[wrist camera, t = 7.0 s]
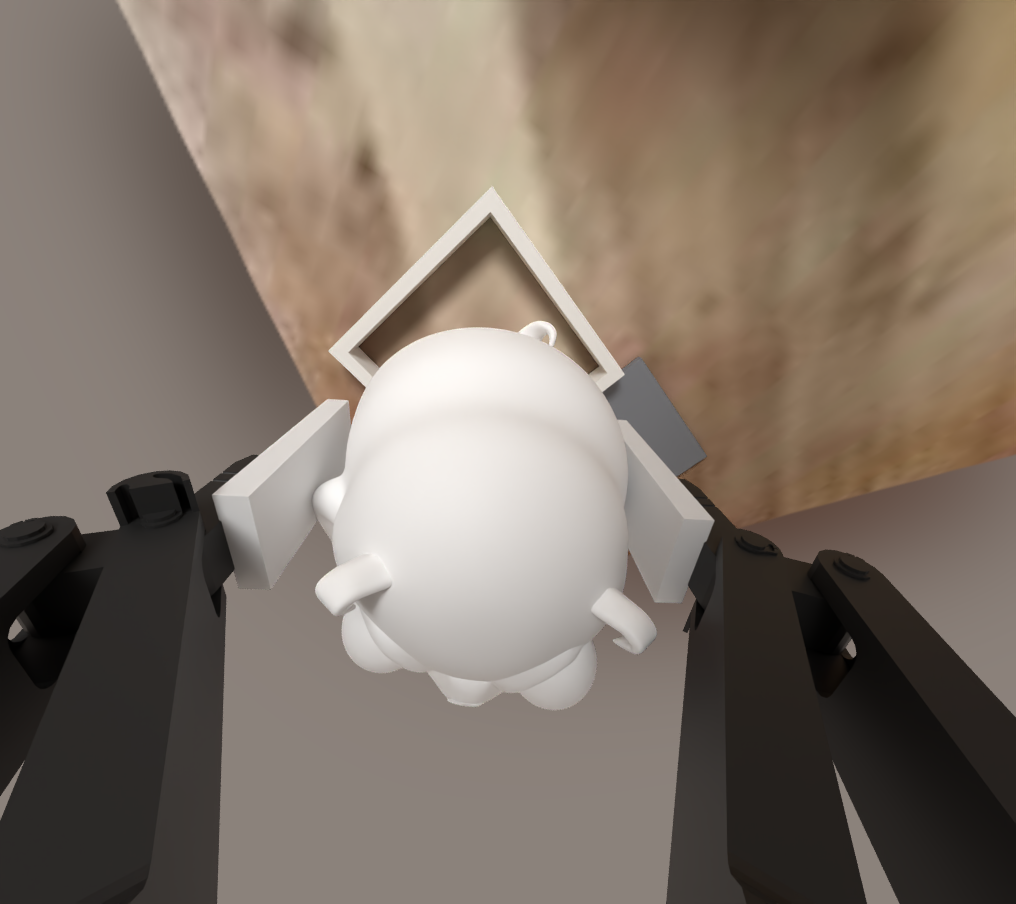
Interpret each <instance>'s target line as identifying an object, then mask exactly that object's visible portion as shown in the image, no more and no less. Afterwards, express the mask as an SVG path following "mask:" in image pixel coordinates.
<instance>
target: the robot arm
mask: <svg viewBox="0 0 1016 904" xmlns="http://www.w3.org/2000/svg"><path fill="white" fill-rule="evenodd" d="M617 421H618V423H619V426H620V429H621V432H622V435H623V439H624V443H625V447H626V453H627V461H628V486H627V494H626V500H625V504H624V510H625V515H626V520H627V527H628V549H629V551H630V553H631V555H632V557H633V559H634V561H635V563H636V565H637V567H638V569H639V571H640V573H641V575H642V578H643V580H644V582H645V584H646V586H647V588H648V590H649V592H650V594H651V596H652V598H653V600H654V602H657V603H682V601H683V599H684V596H685V594H686V591H687V589H688V586H689V588H690V589H691V591H692V592H693V594H694V596H695V597H696V601H695V603H694V605H693V608H692V610H691V612H690V615H689V617H688V620H687V622H686V625H685V627H684V629H683V631H684V632H686V633H687V632H688V630H689V628H690V631H689V643H688V654H687V667H686V678H685V689H684V701H683V713H682V725H681V736H680V748H679V761H678V771H677V783H676V796H675V808H674V819H673V831H672V843H671V854H670V866H669V877H668V889H667V901H666V904H867V902H866V898H865V894H864V889H863V885H862V881H861V877H860V873H859V869H858V864H857V860H856V856H855V852H854V848H853V844H852V840H851V835H850V832H849V828H848V823H847V819H846V815H845V811H844V806H843V802H842V798H841V794H840V790H839V786H838V781H837V777H836V773H835V769H834V765H833V762H834V764H835V766H836V769H837V771H838V773H839V775H840V777H841V779H842V781H843V783H844V786H845V788H846V790H847V792H848V794H849V796H850V799H851V801H852V803H853V805H854V807H855V809H856V811H857V814H858V816H859V818H860V820H861V822H862V824H863V826H864V828H865V831H866V833H867V835H868V837H869V839H870V841H871V844H872V846H873V848H874V850H875V852H876V854H877V856H878V858H879V861H880V863H881V865H882V867H883V869H884V871H885V873H886V875H887V878H888V880H889V882H890V884H891V886H892V888H893V891H894V893H895V895H896V897H897V899H898V901H899V903H900V904H1016V717H1015V716H1014V715H1013V714H1012V713H1011V712H1010V711H1009V710H1008V709H1007V708H1006V707H1005V706H1004V704H1003V703H1002V702H1001V701H1000V700H999V699H998V698H997V697H996V696H995V695H994V694H993V692H992V691H990V689H989V688H988V687H987V686H986V685H985V684H984V683H983V682H982V681H981V680H980V678H978V676H977V675H976V674H975V673H974V672H973V671H972V670H971V669H970V668H969V667H968V666H967V665H966V663H965V662H964V661H963V660H962V659H961V658H960V657H959V656H958V655H957V654H956V653H955V652H954V650H953V649H952V648H951V647H950V646H949V645H948V644H947V643H946V642H945V641H944V640H943V639H942V638H941V636H940V635H939V634H938V633H937V632H936V631H935V630H934V629H933V628H932V627H931V626H930V625H929V624H928V622H927V621H926V620H925V619H924V618H923V617H922V616H921V615H920V614H919V613H918V612H917V611H916V610H915V609H914V607H913V606H912V605H911V604H910V603H909V602H908V601H907V600H906V599H905V598H904V597H903V596H902V594H901V593H900V592H899V591H898V590H897V589H896V588H895V587H894V586H893V585H892V584H891V583H890V582H889V580H888V579H887V578H886V577H885V576H884V575H883V574H882V573H880V572H879V571H878V570H877V569H876V568H875V567H873V566H871V565H870V564H868V563H866V562H865V561H864V560H863V559H861V558H859V557H855V556H854V555H851V554H848V553H842V552H839V551H835V550H823V551H820V552H819V553H818V555H817V557H816V558H815V560H814V562H813V564H809V563H806V562H801V561H797V560H793V559H789V558H785V557H783V554H782V553H781V551H780V549H779V548H778V547H777V546H776V545H775V544H774V543H772V542H771V541H769V540H768V539H766V538H764V537H763V536H761V535H759V534H756V533H753V532H751V531H747V530H743V529H737V528H736V527H735V526H734V525H733V524H732V523H731V522H730V521H729V520H728V519H727V518H726V516H725V515H724V514H723V513H722V512H721V511H720V510H719V509H718V508H717V507H715V505H714V504H713V503H712V502H711V500H710V499H708V497H707V496H706V495H705V494H704V493H703V492H702V491H701V490H700V489H699V488H698V487H696V486H695V485H693V484H692V483H690V482H688V481H687V480H685V479H678V478H677V477H676V476H675V475H674V474H673V473H672V472H671V470H670V469H669V468H668V467H667V466H666V465H665V464H664V462H663V461H662V460H661V459H660V458H659V457H658V456H657V454H656V453H655V452H654V451H653V450H652V449H651V448H650V446H649V445H648V444H647V443H646V442H645V441H644V440H643V439H642V437H641V436H640V435H639V434H638V433H637V432H636V431H635V429H634V428H633V427H632V426H631V425H630V424H629V423H628V421H627V420H617ZM350 429H351V421H350V411H349V401H348V400H334V399H327V400H326V401H325V402H323V403H322V404H321V405H320V406H318V407H317V408H316V409H315V410H314V411H312V412H311V413H310V414H309V415H308V416H306V417H305V418H304V419H303V420H302V421H300V422H299V423H298V424H297V425H296V426H294V427H293V428H292V429H291V430H290V431H288V432H287V433H286V434H285V435H283V436H282V437H281V438H280V439H279V440H277V441H276V442H275V443H274V444H273V445H271V446H270V447H269V448H268V449H266V450H265V451H264V452H263V453H262V454H260V455H251V456H249V457H246V458H244V459H242V460H240V461H237V462H235V463H234V464H232V465H231V466H230V467H228V468H227V469H226V470H225V471H223V473H222V474H219V475H218V476H217V477H216V478H214V479H213V481H210V482H209V483H208V484H207V485H205V486H204V487H203V488H201V489H200V490H199V491H197V492H196V493H195V494H194V491H193V488H192V485H191V482H190V479H189V476H188V474H185V473H183V472H180V471H156V472H151V473H145V474H141V475H137V476H134V477H131V478H128V479H125V480H123V481H121V482H119V483H117V484H116V485H114V486H112V487H111V488H110V489H109V490H108V491H107V492H106V494H107V496H108V498H109V501H110V503H111V505H112V508H113V510H114V512H115V515H116V517H117V519H118V522H119V524H120V528H119V530H113V531H104V532H96V533H89V534H81V533H80V531H79V529H78V527H77V525H76V523H75V521H74V519H72V518H69V517H66V516H50V517H43V518H32V519H28V520H25V521H24V522H23V521H20V522H17V523H14V524H12V525H10V526H9V527H6V528H4V529H1V530H0V796H1V794H2V793H3V791H4V790H5V789H6V787H7V786H8V784H9V783H10V781H11V779H12V778H13V777H14V775H15V774H16V772H17V771H18V769H19V768H20V766H21V765H22V763H23V762H24V764H23V766H22V769H21V771H20V774H19V776H18V779H17V781H16V783H15V786H14V788H13V791H12V793H11V796H10V798H9V801H8V803H7V806H6V808H5V810H4V813H3V815H2V818H1V820H0V904H217V885H218V884H217V883H218V853H219V819H220V787H221V784H220V783H221V753H222V721H223V688H224V655H225V624H226V594H225V591H224V587H223V583H224V582H225V580H226V579H227V578H228V577H229V575H230V574H231V573H232V572H233V571H234V573H235V577H236V581H237V584H238V588H239V589H265V590H271V589H272V587H273V586H274V584H275V583H276V581H277V580H278V578H279V577H280V575H281V574H282V572H283V571H284V569H285V568H286V567H287V565H288V564H289V562H290V560H291V559H292V558H293V556H294V555H295V553H296V551H297V550H298V549H299V547H300V546H301V544H302V543H303V541H304V540H305V538H306V537H307V535H308V534H309V532H310V531H311V529H312V528H313V526H314V525H315V523H316V522H317V521H318V519H317V517H316V515H315V512H314V509H313V505H312V497H313V494H314V492H315V490H316V489H317V488H318V487H319V486H320V485H322V484H323V483H325V482H326V481H328V480H331V479H333V478H336V477H339V476H341V475H342V474H343V472H344V469H345V461H346V450H347V443H348V437H349V433H350ZM15 619H17V620H18V622H19V623H20V625H21V626H22V628H23V629H22V630H21V631H20V632H19V633H18V635H17V636H16V637H15V638H14V639H12V640H9V639H8V634H9V629H10V627H11V625H12V624H13V622H14V621H15ZM851 639H853V642H854V644H855V647H856V652H857V653H856V656H855V657H854V658H852V657H851V655H850V654H849V652H848V651H847V649H846V648H845V647H846V646H847V645H848V643H849V642H850V640H851ZM24 760H25V761H24ZM832 760H833V761H832Z"/></svg>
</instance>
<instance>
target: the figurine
mask: <svg viewBox="0 0 1016 904" xmlns="http://www.w3.org/2000/svg"><path fill="white" fill-rule="evenodd" d="M547 334H548V335H549V339H550V341H549V345H548V344H546V343H544V342H542V341H541V340H542V339H543V337H544V336H545V335H547ZM556 337H557V332H556V329H555V328H554V326H553V325H551V324H550V323H548V322H545V321H536V322H532V323H530V324H528V325H527V326H525V327H524V328H522V329H521V330H520V331H519V332H518V333H517V332H513V331H508V330H503V329H496V328H481V327H475V328H460V329H453V330H448V331H443V332H439V333H436V334H432V335H429V336H427V337H424V338H422V339H419V340H417V341H415V342H413V343H411V344H409V345H407V346H406V347H404V348H403V349H401V350H400V351H398V352H397V353H395V354H394V355H393V356H392V357H391V358H389V359H388V360H387V361H386V362H385V363H384V364H383V365H382V366H381V367H380V368H379V370H378V371H377V372H376V373H375V375H374V376H373V377H372V379H371V380H370V382H369V384H368V385H367V387H366V389H365V391H364V393H363V395H362V397H361V399H360V402H359V404H358V407H357V410H356V413H355V416H354V419H353V422H352V425H351V429H350V433H349V437H348V443H347V450H346V461H345V469H344V472H343V474H342V475H341V476H339V477H336V478H333V479H331V480H328V481H326V482H325V483H323V484H322V485H320V486H319V487H318V488H317V489H316V490H315V492H314V494H313V497H312V505H313V509H314V512H315V515H316V517H317V519H318V521H319V523H320V524H321V526H322V528H323V529H324V531H325V532H326V533H327V535H328V537H329V538H330V540H331V541H332V543H333V552H334V557H335V561H336V564H337V567H336V568H334V569H333V570H331V571H330V572H329V573H327V574H326V575H325V576H324V577H323V578H322V579H321V580H320V581H319V582H318V583H317V585H316V588H315V593H316V596H317V598H318V599H319V600H320V601H321V602H322V603H323V604H324V605H325V606H326V607H327V609H328V610H329V611H330V612H331V613H332V614H333V615H334V616H341V615H344V617H343V622H342V640H343V644H344V647H345V650H346V652H347V653H348V655H349V657H350V658H351V659H352V660H353V661H354V662H355V663H356V664H357V665H358V666H360V667H361V668H363V669H365V670H367V671H370V672H374V673H389V672H394V671H397V670H399V669H401V668H404V669H406V670H409V671H413V672H427V673H428V674H429V675H430V677H431V678H432V679H433V681H434V682H435V683H436V684H437V686H438V687H439V689H440V690H441V691H442V693H443V694H444V695H445V696H446V697H447V698H448V699H447V701H448V702H451V703H453V704H457V705H462V706H470V707H478V706H480V705H482V704H483V703H485V702H487V701H489V700H491V699H493V698H494V697H496V696H497V695H499V694H500V693H502V692H506V693H517V692H520V694H521V695H522V696H523V697H524V698H525V699H526V700H528V701H529V702H530V703H532V704H534V705H536V706H538V707H540V708H543V709H548V710H561V709H565V708H569V707H571V706H573V705H575V704H576V703H578V702H579V701H580V700H581V699H582V698H583V697H584V696H585V695H586V694H587V692H588V691H589V690H590V688H591V686H592V684H593V681H594V678H595V675H596V669H597V654H596V649H595V645H594V642H593V638H594V637H595V636H596V635H597V634H598V633H599V632H600V631H601V630H602V628H603V627H604V626H605V625H606V624H608V625H609V626H611V627H613V628H614V629H615V630H617V631H618V632H620V633H621V634H622V635H623V636H621V637H618V638H615V639H613V642H614V643H615V644H616V645H618V646H619V647H621V648H623V649H625V650H627V651H628V652H630V653H633V654H641V653H642V652H643V651H644V650H645V649H646V648H647V647H648V646H649V645H650V644H651V643H652V642H653V641H654V640H655V638H656V636H657V630H656V627H655V625H654V623H653V621H652V620H651V619H650V617H649V616H648V615H647V614H646V613H645V612H644V611H643V610H642V609H641V608H640V607H639V606H637V605H636V604H635V603H634V602H632V601H631V600H630V599H629V598H627V597H626V596H625V595H624V594H623V590H624V586H625V581H626V574H627V560H628V527H627V520H626V515H625V510H624V504H625V500H626V494H627V486H628V461H627V453H626V447H625V443H624V439H623V435H622V432H621V429H620V426H619V423H618V421H617V418H616V416H615V414H614V412H613V410H612V408H611V406H610V404H609V402H608V401H607V399H606V397H605V396H604V394H603V393H602V391H601V390H600V388H599V387H598V386H597V384H596V383H595V382H594V381H593V379H592V378H591V377H590V376H589V375H588V374H587V373H586V372H585V371H584V370H583V369H582V368H581V367H580V366H579V365H578V364H577V363H575V362H574V361H573V360H572V359H570V358H569V357H568V356H566V355H565V354H563V353H562V352H560V351H559V350H557V349H556V348H554V344H555V341H556Z"/></svg>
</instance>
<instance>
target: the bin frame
mask: <svg viewBox="0 0 1016 904" xmlns="http://www.w3.org/2000/svg"><path fill="white" fill-rule="evenodd" d="M490 217H491V218H492V220H493V221H494V223H495V224H496V225H497V227H498V228H499V229H500V231H501V232H502V234H503V235H504V236H505V238H506V239H507V240H508V242H509V243H510V245H511V246H512V247H513V249H514V250H515V251H516V253H517V254H518V255H519V257H520V258H521V260H522V261H523V262H524V264H525V265H526V266H527V268H528V269H529V271H530V272H531V273H532V275H533V276H534V277H535V279H536V280H537V282H538V283H539V284H540V286H541V287H542V288H543V290H544V291H545V293H546V294H547V295H548V297H549V298H550V299H551V301H552V302H553V303H554V305H555V306H556V308H557V309H558V310H559V312H560V313H561V314H562V316H563V317H564V319H565V320H566V321H567V323H568V324H569V325H570V327H571V328H572V330H573V331H574V332H575V334H576V335H577V336H578V338H579V339H580V341H581V342H582V343H583V345H584V346H585V347H586V349H587V350H588V351H589V353H590V354H591V356H592V357H593V358H594V360H595V361H596V362H597V364H598V365H599V367H597V368H596V369H595V370H594V371H592V372H591V373H590V374H588V375H589V376H590V377H591V378H592V379H593V381H594V382H595V383H596V384H597V386H598V387H599V388H600V390H601V391H602V392H603V391H604V390H606V389H607V388H608V387H610V386H611V385H612V384H613V383H615V382H616V381H617V380H619V379H620V378H621V377H623V376H624V375H625V374H624V372H623V371H622V370H621V368H620V367H619V365H618V364H617V362H616V361H615V360H614V358H613V357H612V355H611V354H610V353H609V351H608V350H607V348H606V347H605V345H604V344H603V343H602V341H601V340H600V338H599V337H598V336H597V334H596V333H595V331H594V330H593V328H592V327H591V326H590V324H589V323H588V321H587V320H586V319H585V317H584V316H583V314H582V313H581V311H580V310H579V309H578V307H577V306H576V304H575V303H574V301H573V300H572V299H571V297H570V296H569V294H568V293H567V292H566V290H565V289H564V287H563V286H562V284H561V283H560V282H559V280H558V279H557V277H556V276H555V275H554V273H553V272H552V270H551V269H550V267H549V266H548V265H547V263H546V262H545V260H544V259H543V258H542V256H541V255H540V253H539V252H538V250H537V249H536V248H535V246H534V245H533V243H532V242H531V240H530V239H529V238H528V236H527V235H526V233H525V232H524V231H523V229H522V228H521V226H520V225H519V223H518V222H517V221H516V219H515V218H514V216H513V215H512V214H511V212H510V211H509V209H508V208H507V206H506V205H505V204H504V202H503V201H502V199H501V198H500V197H499V195H498V194H497V192H496V191H495V189H494V188H493V187H491V188H490V189H489V190H488V191H487V192H486V193H485V194H484V195H483V196H482V197H481V198H480V199H479V200H478V201H477V202H476V203H475V204H474V205H473V206H472V207H471V208H470V209H469V210H468V211H467V212H466V213H465V214H464V215H463V216H462V217H461V218H460V219H459V220H458V221H457V222H456V223H455V224H454V225H453V226H452V227H451V228H450V229H449V230H448V231H447V232H446V233H445V234H444V235H443V236H442V237H441V238H440V239H439V240H438V241H437V242H436V243H435V244H434V245H433V246H432V247H431V248H430V249H429V250H428V251H427V252H426V253H425V254H424V255H423V256H422V257H421V258H420V259H419V260H418V261H417V262H416V263H415V264H414V265H413V266H412V267H411V268H410V269H409V270H408V271H407V272H406V273H405V274H404V275H403V276H402V277H401V278H400V279H399V280H398V281H397V282H396V283H395V284H394V285H393V286H392V287H391V288H390V289H389V290H388V291H387V292H386V293H385V294H384V295H383V296H382V297H381V298H380V299H379V300H378V301H377V302H376V303H375V304H374V305H373V306H372V307H371V308H370V309H369V310H368V311H367V312H366V313H365V314H364V315H363V316H362V318H361V319H360V320H359V321H358V322H357V323H356V324H355V325H354V326H353V327H352V328H351V329H350V330H349V331H348V332H347V333H346V334H345V335H344V336H343V337H342V338H341V339H340V340H339V341H338V342H337V343H336V344H335V345H334V346H333V347H332V348H331V349H330V350H329V352H330V353H331V354H332V355H333V356H334V357H335V358H336V359H337V360H338V361H339V362H340V363H341V364H342V365H343V366H344V367H345V368H346V369H347V370H349V371H350V372H351V373H352V374H353V375H354V376H355V377H356V378H357V379H358V380H359V381H360V382H361V383H362V384H363V385H364V386H365V387H367V385H368V384H369V382H370V380H371V379H372V377H373V376H374V375H375V373H376V372H377V371H378V370H379V367H378V366H377V365H376V364H375V363H374V362H373V361H372V360H371V359H370V358H369V357H368V356H367V355H366V354H365V353H364V352H363V351H362V350H361V349H360V348H359V347H358V346H359V345H360V344H361V343H362V342H363V341H364V340H365V339H366V338H367V337H368V336H369V335H370V334H371V333H372V332H374V331H375V330H376V329H377V328H378V327H379V326H380V325H381V324H382V323H383V322H384V321H385V320H386V319H387V318H388V317H389V316H390V315H391V314H392V313H393V312H394V311H395V310H396V309H397V308H398V307H399V306H400V305H401V304H402V303H403V302H404V301H405V300H406V299H407V298H408V297H409V296H410V295H411V294H412V293H413V292H414V291H415V290H416V289H417V288H418V287H419V286H420V285H421V284H422V283H423V282H424V281H425V280H426V279H427V278H428V277H429V276H431V275H432V274H433V273H434V272H435V271H436V270H437V269H438V268H439V267H440V266H441V265H442V264H443V263H444V262H445V261H446V260H447V259H448V258H449V257H450V256H451V255H452V254H453V253H454V252H455V251H456V250H457V249H458V248H459V247H460V246H461V245H462V244H463V243H464V242H465V241H466V240H467V239H468V238H469V237H470V236H471V235H472V234H473V233H474V232H475V231H476V230H477V229H478V228H479V227H480V226H481V225H482V224H483V223H484V222H485V221H486V220H487V219H489V218H490Z"/></svg>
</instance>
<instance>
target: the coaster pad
mask: <svg viewBox="0 0 1016 904" xmlns="http://www.w3.org/2000/svg"><path fill="white" fill-rule="evenodd" d="M622 371H623V372H624V374H625V375H624V376H623V377H621V378H620V379H619V380H617V381H616V382H615V383H613V384H612V385H611V386H610V387H608V388H607V389H606V390H604V391H603V392H602V393H603V394H604V396H605V397H606V399H607V401H608V402H609V404H610V406H611V408H612V410H613V412H614V414H615V416H616V418H617V420H627V421H628V423H629V424H630V425H631V426H632V427H633V428H634V429H635V431H636V432H637V433H638V434H639V435H640V436H641V437H642V439H643V440H644V441H645V442H646V443H647V444H648V445H649V446H650V448H651V449H652V450H653V451H654V452H655V453H656V454H657V456H658V457H659V458H660V459H661V460H662V461H663V462H664V464H665V465H666V466H667V467H668V468H669V469H670V470H671V472H672V473H673V474H674V475H675V476H676V477H677V476H678V475H680V474H681V473H683V472H684V471H686V470H687V469H689V468H690V467H692V466H693V465H695V464H696V463H698V462H699V461H701V460H702V459H704V458H705V457H707V455H706V454H705V452H704V451H703V449H702V448H701V446H700V445H699V443H698V442H697V440H696V439H695V437H694V436H693V434H692V433H691V432H690V430H689V429H688V427H687V426H686V424H685V423H684V421H683V420H682V418H681V417H680V415H679V414H678V412H677V411H676V409H675V408H674V406H673V405H672V403H671V402H670V400H669V399H668V397H667V396H666V394H665V393H664V391H663V390H662V388H661V387H660V385H659V384H658V382H657V381H656V379H655V378H654V376H653V375H652V373H651V372H650V370H649V369H648V367H647V366H646V364H645V363H644V361H643V360H642V358H640V357H637V358H636V359H635V360H633V361H632V362H631V363H629V364H628V365H627V366H626V367H624V368H623V369H622Z"/></svg>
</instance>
